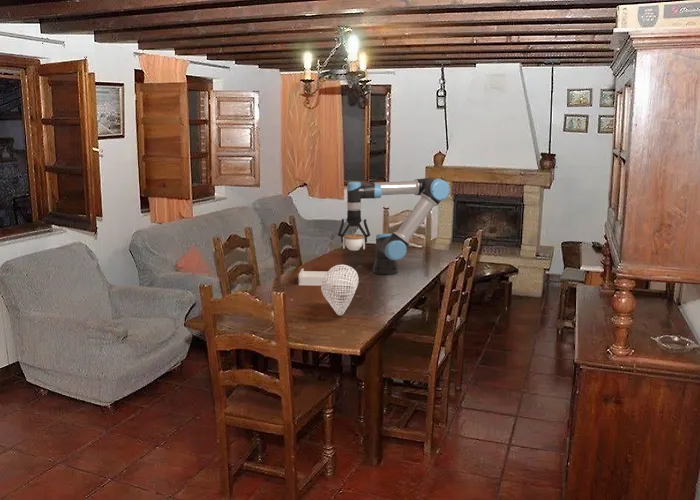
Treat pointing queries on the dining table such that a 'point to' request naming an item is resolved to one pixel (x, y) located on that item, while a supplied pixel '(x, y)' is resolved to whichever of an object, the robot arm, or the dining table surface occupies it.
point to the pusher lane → (316, 278)
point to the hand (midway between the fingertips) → (354, 248)
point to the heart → (327, 283)
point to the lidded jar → (353, 241)
